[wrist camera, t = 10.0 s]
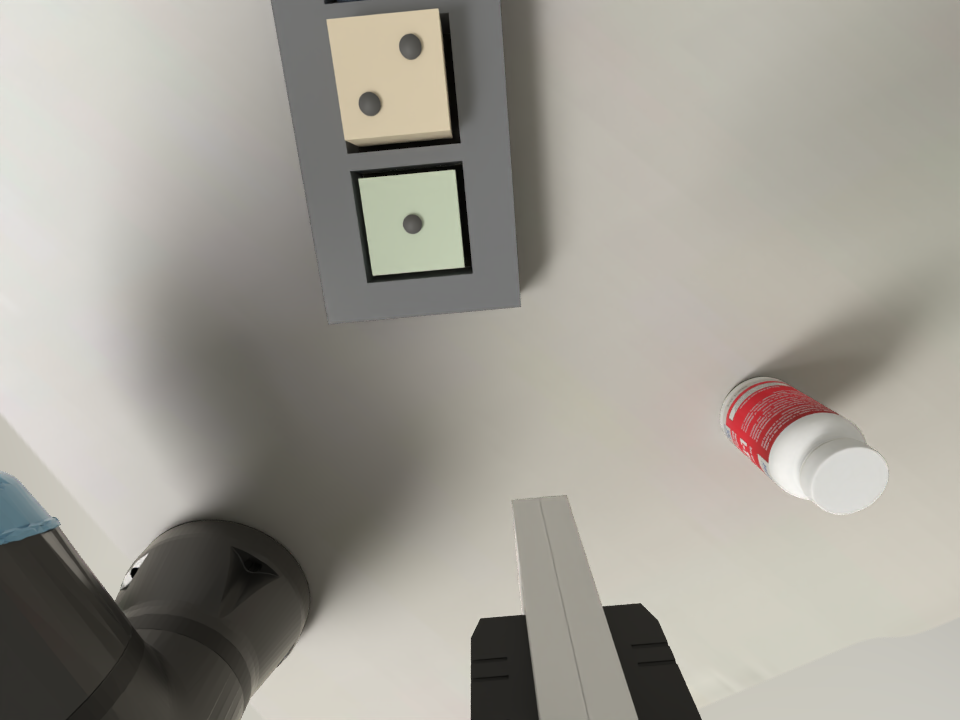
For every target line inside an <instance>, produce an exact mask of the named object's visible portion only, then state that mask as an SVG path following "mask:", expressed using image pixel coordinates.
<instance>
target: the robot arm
mask: <svg viewBox="0 0 960 720" xmlns="http://www.w3.org/2000/svg"><path fill="white" fill-rule="evenodd" d="M512 510H513V522H514V534H515V546H516V558H517V570H518V582H519V590H520V599H521V607H522V615H516V616H504V617H493V618H481V619H480V621H479V623H478V625H477V627H476V629H475V631H474V633H473V635H472V637H471V720H702V719H701V717H700V714H699V712H698V710H697V708H696V705H695V703H694V701H693V699H692V696H691V694H690V692H689V689H688V687H687V685H686V683H685V680H684V678H683V676H682V674H681V671H680V669H679V667H678V665H677V664H676V661H675V658H674V656H673V653H672V651H671V649H670V646H668V642H667V640H666V637H665V635H664V633H663V631H662V628H661V626H660V624H659V622H658V620H657V619H656V618H655V617H654V616H653V615H652V614H651V613H650V612H649V611H648V610H647V609H646V608H645V607H644V606H643V605H642V604H641V603H639V604H627V605H615V606H603V607H602V604H601V601H600V598H599V595H598V592H597V589H596V586H595V582H594V579H593V576H592V573H591V570H590V567H589V564H588V560H587V557H586V554H585V551H584V548H583V545H582V542H581V539H580V535H579V532H578V529H577V526H576V523H575V520H574V517H573V514H572V510H571V507H570V504H569V501H568V498H567V495H563V496H551V497H540V498H529V499H517V500H512ZM59 525H61V524H60V522H59V520H58V519H57V518H56V517H51V516H50V515H49V514H48V513H47V512H46V510H45V509H44V508H43V507H42V506H41V505H40V504H39V502H38V501H37V500H36V499H35V498H34V497H33V496H32V494H31V493H30V492H29V491H28V490H27V489H26V488H25V487H24V485H23V484H22V483H21V482H20V481H19V480H18V479H17V478H15V477H14V476H12V475H10V474H8V473H5V472H2V471H0V720H241V717H242V715H243V713H244V711H245V708H246V706H247V704H248V702H249V700H250V698H251V697H252V696H253V694H254V693H255V692H256V691H257V690H258V689H259V687H260V686H261V685H262V684H263V683H264V681H265V680H266V679H267V678H268V677H269V676H270V674H271V673H272V672H273V671H274V669H275V668H276V667H278V666H279V665H280V664H281V663H282V662H283V661H284V660H285V659H286V658H287V656H288V655H289V654H290V653H291V651H292V650H293V648H294V647H295V645H296V643H297V641H298V639H299V637H300V635H301V632H302V629H303V627H304V624H305V622H306V619H307V616H308V613H309V606H310V595H309V588H308V584H307V581H306V578H305V576H304V574H303V571H302V570H301V568H300V566H299V565H298V563H297V562H296V560H295V559H294V558H293V556H292V555H291V554H290V553H289V552H288V551H287V550H286V549H285V548H284V547H283V546H281V545H280V544H279V543H278V542H276V541H275V540H274V539H272V538H270V537H269V536H267V535H265V534H264V533H262V532H260V531H258V530H255V529H253V528H250V527H248V526H245V525H241V524H238V523H233V522H227V521H218V520H205V521H195V522H190V523H186V524H182V525H180V526H177V527H174V528H172V529H170V530H168V531H166V532H165V533H163V534H161V535H160V536H159V537H157V538H156V539H155V540H154V541H153V542H152V543H151V544H150V545H149V546H148V547H147V548H146V549H145V550H144V551H143V553H142V554H141V555H140V556H139V557H138V558H137V559H136V560H135V561H134V563H133V564H132V565H131V567H130V569H129V570H128V572H127V574H126V576H125V578H124V580H123V583H122V585H121V589H120V592H119V593H118V596H117V598H116V600H115V601H114V600H113V598H112V597H111V596H110V595H109V593H108V592H107V591H106V589H105V588H104V587H103V585H102V584H101V583H100V581H99V580H98V579H97V577H96V576H95V575H94V573H93V572H92V571H91V569H90V568H89V567H88V566H87V564H86V563H85V562H84V560H83V559H82V558H81V556H80V555H79V554H78V552H77V551H76V550H75V548H74V547H73V546H72V544H71V543H70V542H69V540H68V539H67V537H66V536H65V534H64V533H63V532H62V531H61V529H60V527H59Z"/></svg>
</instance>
